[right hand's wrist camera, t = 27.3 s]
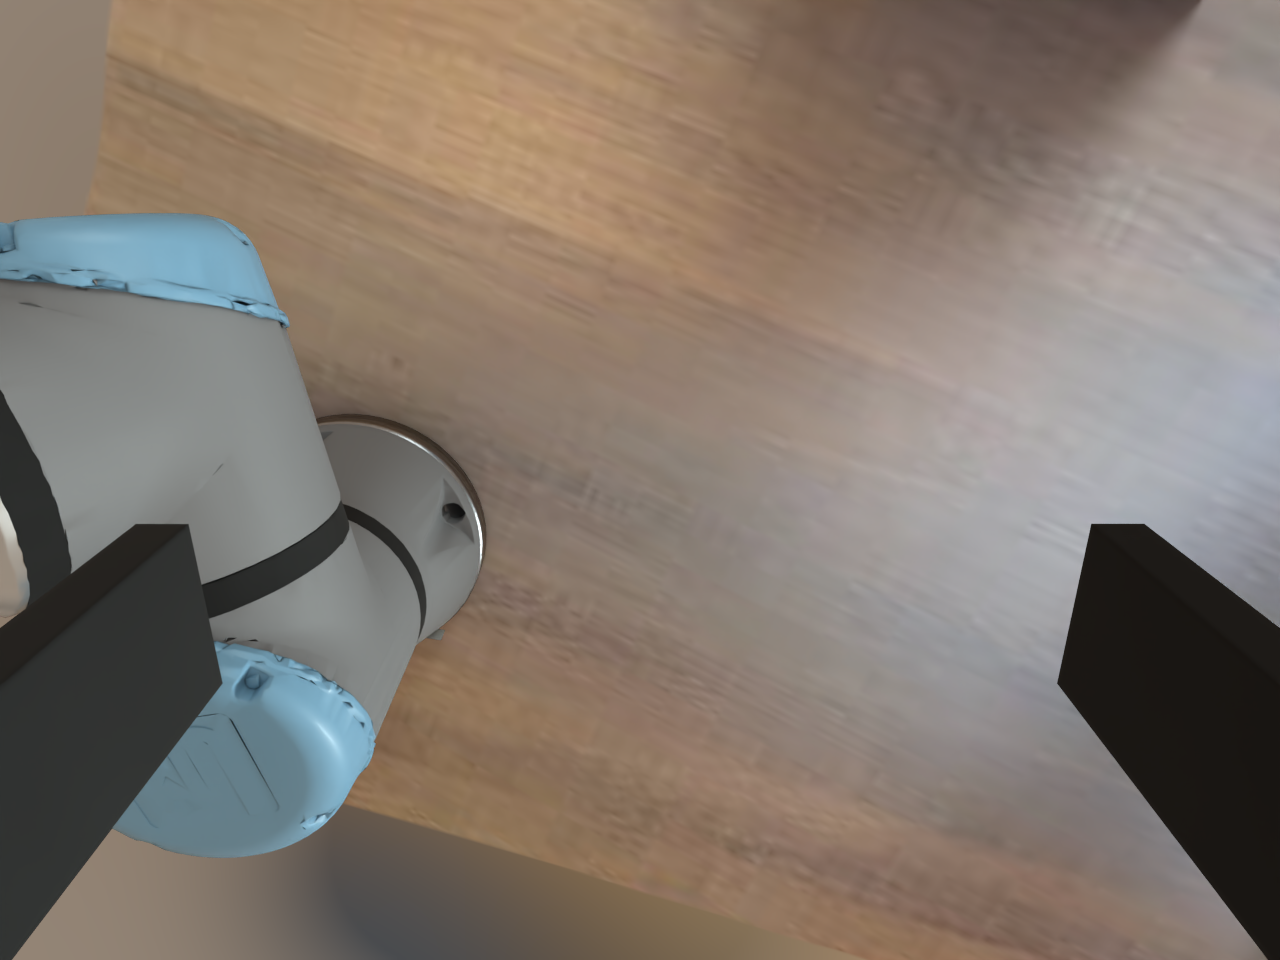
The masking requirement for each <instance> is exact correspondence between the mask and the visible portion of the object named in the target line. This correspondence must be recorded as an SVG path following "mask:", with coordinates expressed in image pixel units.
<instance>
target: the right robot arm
mask: <svg viewBox="0 0 1280 960" xmlns="http://www.w3.org/2000/svg"><path fill="white" fill-rule="evenodd" d="M289 326H290V324H289V321H288V317H287V316H286V314H285V313H284V312H283V311H281V310H280V309H279V308H278V306H277V303H276V300H275V298H274V295H273V292H272V290H271V287H270V284H269V282H268V279H267V277H266V274H265V271H264V269H263V266H262V263H261V261H260V258H259V255H258V253H257V251H256V249H255V247H254V246H253V244H252V242H251V241H250V240H249V238H248V237H247V236H246V235H245V234H244V233H243V232H242V231H241V230H239V229H238V228H237V227H235V226H233V225H232V224H230V223H229V222H226V221H224V220H221V219H219V218H215V217H211V216H206V215H199V214H181V213H139V214H104V215H84V216H66V217H49V218H37V219H25V220H18V221H14V222H11V223H9V224H7V223H2V222H0V617H5V618H6V617H10V616H13V615H16V614H18V615H17V616H15V617H14V618H13V619H11V620H10V621H9V622H8V623H6V624H5V625H4V626H2V627H1V628H0V960H12V959H13V957H14V956H15V955H16V954H17V952H18V951H19V950H20V948H21V947H22V946H23V944H24V943H25V942H26V940H27V939H28V938H29V936H30V935H31V934H32V933H33V931H34V930H35V929H36V927H37V926H38V925H39V923H40V922H41V921H42V920H43V918H44V917H45V916H46V914H47V913H48V912H49V910H50V909H51V908H52V906H53V905H54V904H55V903H56V901H57V900H58V899H59V897H60V896H61V895H62V893H63V892H64V891H65V889H66V888H67V887H68V885H69V884H70V883H71V881H72V880H73V879H74V878H75V876H76V875H77V874H78V872H79V871H80V870H81V868H82V867H83V866H84V865H85V863H86V862H87V861H88V859H89V858H90V857H91V855H92V854H93V853H94V851H95V850H96V849H97V847H98V846H99V845H100V844H101V842H102V841H103V840H104V838H105V837H106V836H107V834H108V833H109V832H110V830H111V829H114V830H116V831H118V832H120V833H122V834H124V835H126V836H128V837H130V838H132V839H134V840H139V841H144V842H148V843H151V844H153V845H155V846H158V847H160V848H162V849H164V850H167V851H171V852H175V853H180V854H185V855H191V856H198V857H212V858H233V857H244V856H252V855H257V854H263V853H267V852H271V851H275V850H278V849H281V848H284V847H287V846H289V845H291V844H293V843H296V842H298V841H300V840H302V839H303V838H305V837H307V836H309V835H310V834H312V833H313V832H315V831H316V830H318V829H319V828H320V827H321V826H323V825H324V824H325V823H326V822H327V821H328V820H329V819H330V818H331V817H332V816H333V815H334V814H335V813H336V811H337V810H338V809H339V807H340V806H341V805H342V803H343V802H344V800H345V799H346V797H347V795H348V793H349V791H350V789H351V787H352V786H353V784H354V782H355V780H356V778H357V777H358V775H359V774H360V773H361V772H362V771H363V770H364V769H365V768H366V767H367V766H368V764H369V762H370V760H371V758H372V755H373V752H374V749H373V748H374V747H375V745H376V744H375V743H374V742H375V739H376V737H377V735H378V732H379V730H380V727H381V725H382V723H383V720H384V718H385V716H386V713H387V711H388V709H389V706H390V704H391V702H392V700H393V697H394V695H395V693H396V690H397V688H398V686H399V683H400V681H401V679H402V676H403V674H404V672H405V670H406V667H407V665H408V663H409V660H410V658H411V656H412V653H413V651H414V649H415V646H416V645H417V644H418V643H420V642H421V641H422V640H424V639H425V638H430V639H436V640H441V639H442V636H443V634H444V631H445V630H441V629H439V628H440V627H442V626H443V625H444V624H445V623H446V622H448V621H449V620H450V619H451V618H452V617H453V616H454V615H455V614H456V613H457V612H458V611H459V610H460V608H461V607H462V606H463V605H464V603H465V602H466V600H467V599H468V597H469V595H470V594H471V592H472V590H473V588H474V585H475V583H476V580H477V577H478V575H479V572H480V569H481V566H482V563H483V559H484V555H485V548H486V525H485V519H484V514H483V510H482V507H481V503H480V501H479V498H478V496H477V493H476V491H475V489H474V487H473V485H472V483H471V482H470V480H469V479H468V477H467V476H466V474H465V472H464V471H463V470H462V469H461V467H460V466H459V465H458V464H457V462H456V461H455V460H454V459H453V458H452V457H451V456H450V455H449V454H448V453H447V452H446V451H445V450H443V449H442V448H441V447H440V446H439V445H437V444H436V443H435V442H433V441H432V440H431V439H429V438H428V437H426V436H424V435H423V434H421V433H419V432H418V431H416V430H413V429H411V428H409V427H407V426H405V425H402V424H400V423H397V422H394V421H391V420H387V419H384V418H380V417H374V416H369V415H358V414H342V415H332V416H327V417H322V418H318V419H316V418H315V415H314V412H313V409H312V406H311V403H310V400H309V397H308V394H307V391H306V388H305V385H304V382H303V379H302V376H301V373H300V370H299V367H298V363H297V360H296V357H295V354H294V351H293V348H292V345H291V342H290V339H289V336H288V333H287V330H286V328H287V327H289ZM1057 684H1058V685H1059V686H1060V688H1061V689H1062V690H1063V692H1064V693H1065V694H1066V695H1067V697H1068V698H1069V699H1070V701H1071V702H1072V703H1073V705H1074V706H1075V707H1076V709H1077V710H1078V711H1079V713H1080V714H1081V715H1082V716H1083V718H1084V719H1085V720H1086V722H1087V723H1088V724H1089V726H1090V727H1091V728H1092V730H1093V731H1094V732H1095V733H1096V735H1097V736H1098V737H1099V739H1100V740H1101V741H1102V743H1103V744H1104V745H1105V747H1106V748H1107V749H1108V751H1109V752H1110V753H1111V754H1112V756H1113V757H1114V758H1115V760H1116V761H1117V762H1118V764H1119V765H1120V766H1121V768H1122V769H1123V770H1124V771H1125V773H1126V774H1127V775H1128V777H1129V778H1130V779H1131V781H1132V782H1133V783H1134V785H1135V786H1136V787H1137V789H1138V790H1139V791H1140V792H1141V794H1142V795H1143V796H1144V798H1145V799H1146V800H1147V802H1148V803H1149V804H1150V806H1151V807H1152V808H1153V809H1154V811H1155V812H1156V813H1157V815H1158V816H1159V817H1160V819H1161V820H1162V821H1163V823H1164V824H1165V825H1166V827H1167V828H1168V829H1169V830H1170V832H1171V833H1172V834H1173V836H1174V837H1175V838H1176V840H1177V841H1178V842H1179V844H1180V845H1181V846H1182V847H1183V849H1184V850H1185V851H1186V853H1187V854H1188V855H1189V857H1190V858H1191V859H1192V861H1193V862H1194V863H1195V865H1196V866H1197V867H1198V868H1199V870H1200V871H1201V872H1202V874H1203V875H1204V876H1205V878H1206V879H1207V880H1208V882H1209V883H1210V884H1211V885H1212V887H1213V888H1214V889H1215V891H1216V892H1217V893H1218V895H1219V896H1220V897H1221V899H1222V900H1223V901H1224V903H1225V904H1226V905H1227V906H1228V908H1229V909H1230V910H1231V912H1232V913H1233V914H1234V916H1235V917H1236V918H1237V920H1238V921H1239V922H1240V923H1241V925H1242V926H1243V927H1244V929H1245V930H1246V931H1247V933H1248V934H1249V935H1250V937H1251V938H1252V939H1253V941H1254V942H1255V943H1256V944H1257V946H1258V947H1259V948H1260V950H1261V951H1262V952H1263V954H1264V955H1265V956H1266V958H1267V959H1268V960H1280V628H1279V627H1278V626H1276V625H1275V624H1274V623H1272V622H1271V621H1270V620H1269V619H1267V618H1266V617H1265V616H1263V615H1262V614H1261V613H1259V612H1258V611H1257V610H1256V609H1254V608H1253V607H1252V606H1250V605H1249V604H1248V603H1246V602H1245V601H1244V600H1242V599H1241V598H1240V597H1239V596H1237V595H1236V594H1235V593H1233V592H1232V591H1231V590H1229V589H1228V588H1227V587H1226V586H1224V585H1223V584H1222V583H1220V582H1219V581H1218V580H1216V579H1215V578H1214V577H1213V576H1211V575H1210V574H1209V573H1207V572H1206V571H1205V570H1203V569H1202V568H1201V567H1200V566H1198V565H1197V564H1196V563H1194V562H1193V561H1192V560H1190V559H1189V558H1188V557H1187V556H1185V555H1184V554H1183V553H1181V552H1180V551H1179V550H1177V549H1176V548H1175V547H1174V546H1172V545H1171V544H1170V543H1168V542H1167V541H1166V540H1164V539H1163V538H1162V537H1160V536H1159V535H1158V534H1157V533H1155V532H1154V531H1153V530H1151V529H1150V528H1149V527H1147V526H1146V525H1145V524H1091V528H1090V533H1089V538H1088V542H1087V547H1086V552H1085V556H1084V561H1083V566H1082V570H1081V575H1080V580H1079V584H1078V589H1077V594H1076V598H1075V603H1074V608H1073V612H1072V617H1071V622H1070V626H1069V631H1068V636H1067V640H1066V645H1065V650H1064V654H1063V659H1062V664H1061V668H1060V673H1059V678H1058V682H1057Z"/></svg>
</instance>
